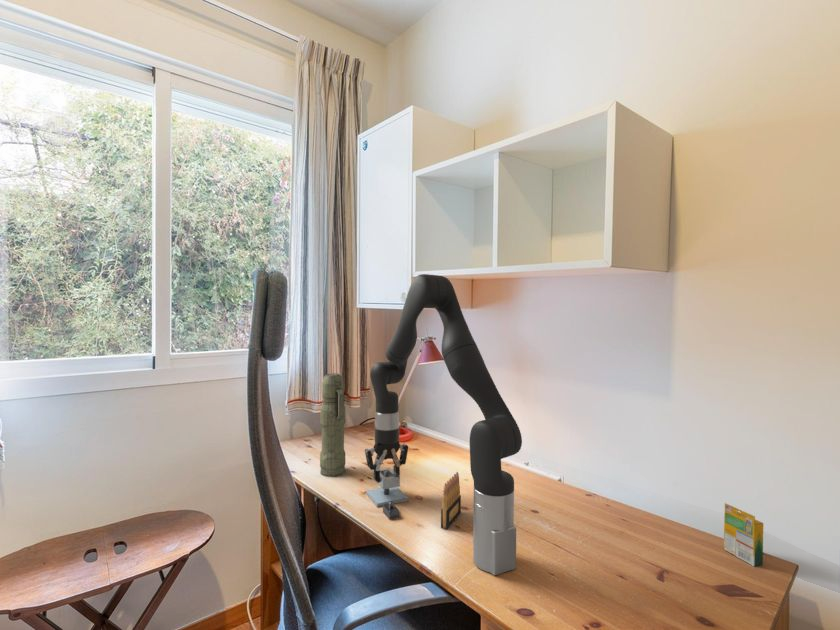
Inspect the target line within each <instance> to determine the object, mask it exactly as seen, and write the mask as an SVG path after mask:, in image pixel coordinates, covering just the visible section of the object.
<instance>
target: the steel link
mask: <svg viewBox="0 0 840 630" xmlns="http://www.w3.org/2000/svg"><path fill="white" fill-rule="evenodd" d="M379 470H380V482H379V483H377V482H376V481H375V480H374V482H375V483H376V484H377V485H378V486H379V488H382V489H389V488H394V487H398V488H399V487H401V476H399V475H398V474H397V473H395V472H394V471H393V468H391V467H386V468H380V469H379ZM384 471H389V477H384Z"/></svg>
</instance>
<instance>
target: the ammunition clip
mask: <svg viewBox="0 0 840 630" xmlns="http://www.w3.org/2000/svg"><path fill="white" fill-rule="evenodd" d="M442 492H443V493H442V502H441V503H442V505H441V507H442V508H441V509H440V511H441V512H440V529H444V530H448V529H450V527H451V526H452V525H453V524H454V522H455V521H456V519H457V518H458V517H459V516H460V515H461V513H462V500H461V499H462V496H461V486H460V475H459V472H458V471H456V472H455V474H453V476H451V478H449V479H448V480H447V481H446V482H445V483H444V485H443V491H442Z"/></svg>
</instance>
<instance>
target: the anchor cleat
mask: <svg viewBox="0 0 840 630" xmlns="http://www.w3.org/2000/svg"><path fill="white" fill-rule="evenodd" d="M382 514H384V515H385V516H386V517H387V518H388V520H394V519H398V518H400V509H399V508H398V507H397V506H396V505H395V503H394V504H393V501H389V504H385V505H383V506H382Z"/></svg>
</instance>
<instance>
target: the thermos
mask: <svg viewBox="0 0 840 630" xmlns="http://www.w3.org/2000/svg"><path fill="white" fill-rule="evenodd" d="M321 383H322V384H321V387H322V388H321V398H322V400H321V406H320V412H319V413H320V415H319V417H320V420H319V421H320V423H319V424H320V426H321V450H320V454H319V467H320V475H321V476H323V477H329V478H330V477H334V478H335V477H338V476H342V475H344V474H345V472H346V468H345V467H346V450H345V424H346V406H345V402H344V400H345V397H344V396H345V395H344V394H345V393H344V392H345V391H344V390H345V388H344V387H345V386H344V385H345V383H344V379H343V376H342V374H340V373H326V374H325V375H324V376H323V379H322V382H321Z"/></svg>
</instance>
